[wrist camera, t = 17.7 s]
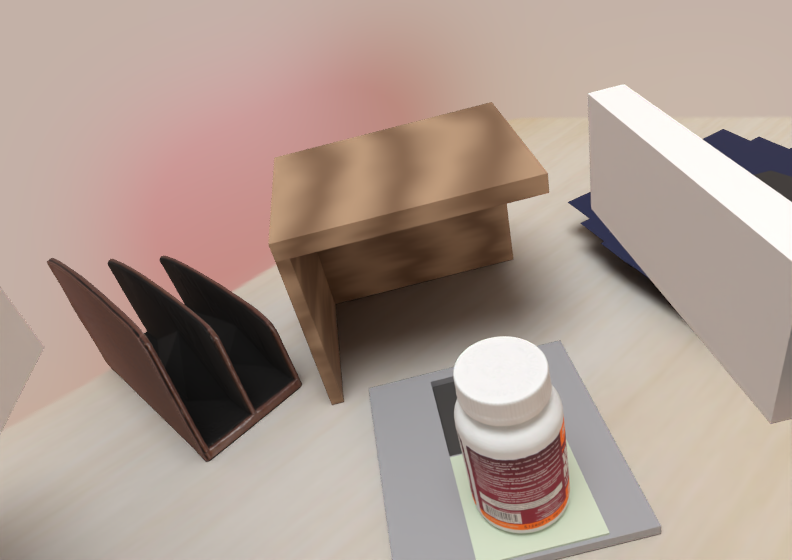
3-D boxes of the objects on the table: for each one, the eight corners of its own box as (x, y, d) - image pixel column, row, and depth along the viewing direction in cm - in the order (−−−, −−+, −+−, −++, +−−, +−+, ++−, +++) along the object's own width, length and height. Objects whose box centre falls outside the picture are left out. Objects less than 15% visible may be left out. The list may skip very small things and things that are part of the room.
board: (399, 598, 37) (395, 589, 36) (370, 395, 51) (368, 386, 50) (660, 533, 37) (661, 524, 36) (560, 347, 51) (559, 338, 50)
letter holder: (208, 465, 49) (126, 332, 41) (109, 367, 62) (31, 252, 54) (305, 386, 54) (248, 253, 45) (194, 311, 67) (134, 197, 58)
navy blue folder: (731, 145, 68) (738, 115, 66) (1061, 300, 47) (1090, 264, 45) (551, 231, 62) (552, 202, 60) (838, 454, 41) (857, 422, 39)
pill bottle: (590, 508, 38) (584, 378, 31) (503, 555, 37) (477, 430, 30) (535, 439, 43) (519, 314, 36) (456, 478, 42) (425, 357, 35)
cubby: (331, 404, 51) (268, 244, 42) (325, 300, 63) (274, 157, 54) (560, 347, 51) (547, 173, 41) (510, 253, 63) (491, 102, 53)
